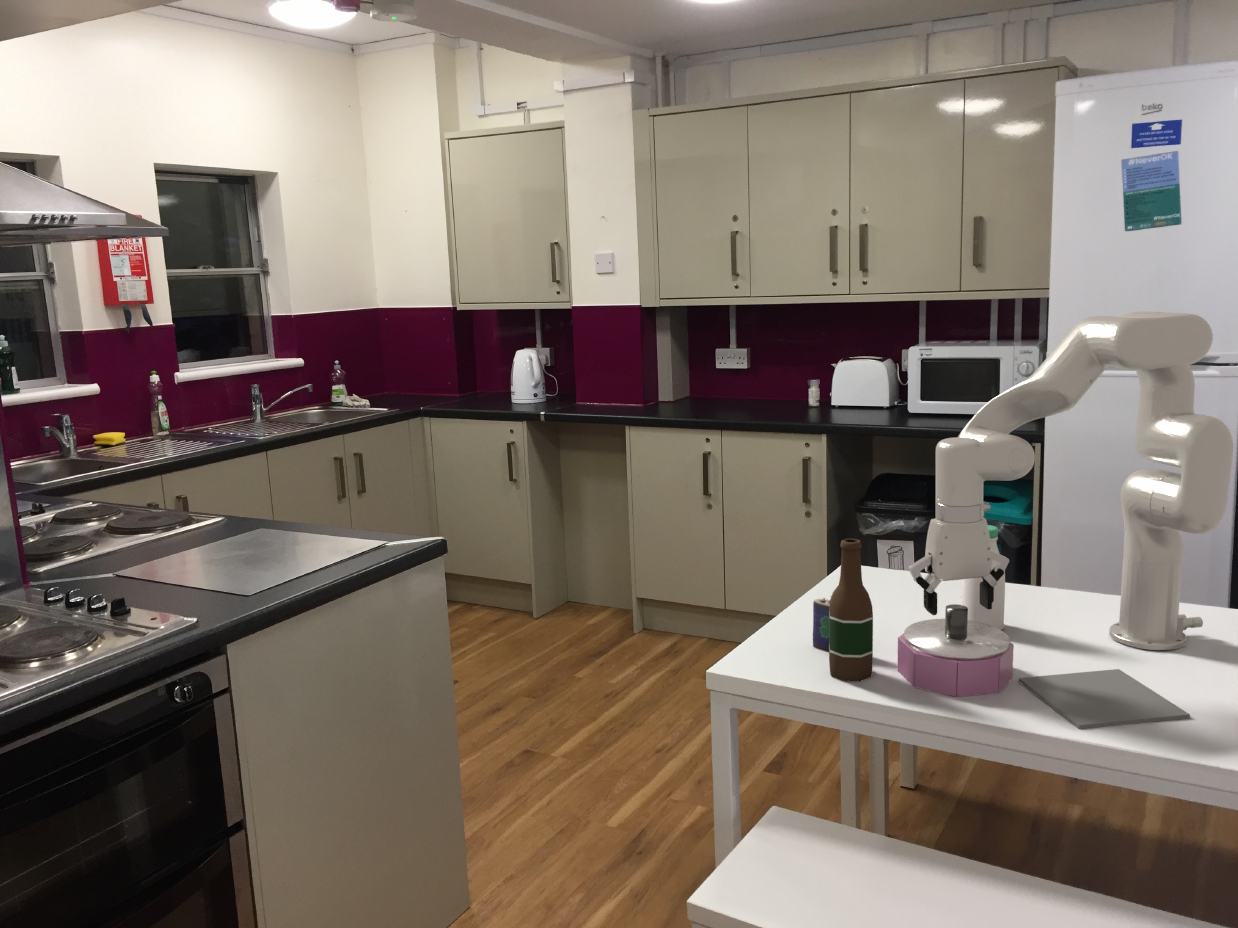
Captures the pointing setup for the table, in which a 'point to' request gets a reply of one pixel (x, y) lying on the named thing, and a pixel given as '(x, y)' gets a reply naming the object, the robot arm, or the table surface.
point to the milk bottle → (973, 594)
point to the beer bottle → (850, 620)
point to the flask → (821, 624)
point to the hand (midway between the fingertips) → (958, 609)
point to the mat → (1102, 698)
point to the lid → (956, 637)
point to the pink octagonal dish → (954, 672)
